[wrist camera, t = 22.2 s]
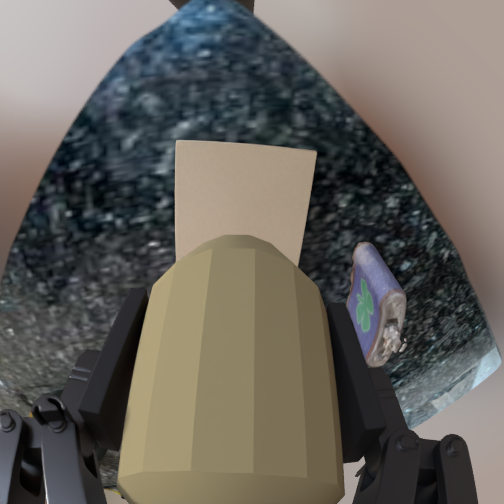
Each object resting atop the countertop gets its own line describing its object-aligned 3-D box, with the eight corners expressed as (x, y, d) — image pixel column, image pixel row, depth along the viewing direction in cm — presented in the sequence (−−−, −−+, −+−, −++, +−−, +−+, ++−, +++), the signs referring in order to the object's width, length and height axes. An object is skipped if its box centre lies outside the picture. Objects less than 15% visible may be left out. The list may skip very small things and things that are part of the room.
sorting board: (177, 139, 26) (175, 140, 25) (315, 150, 26) (317, 152, 26) (181, 344, 37) (181, 347, 37) (279, 351, 38) (280, 354, 37)
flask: (353, 240, 31) (393, 308, 21) (380, 239, 31) (426, 303, 21) (343, 312, 35) (369, 385, 26) (367, 310, 35) (397, 380, 26)
